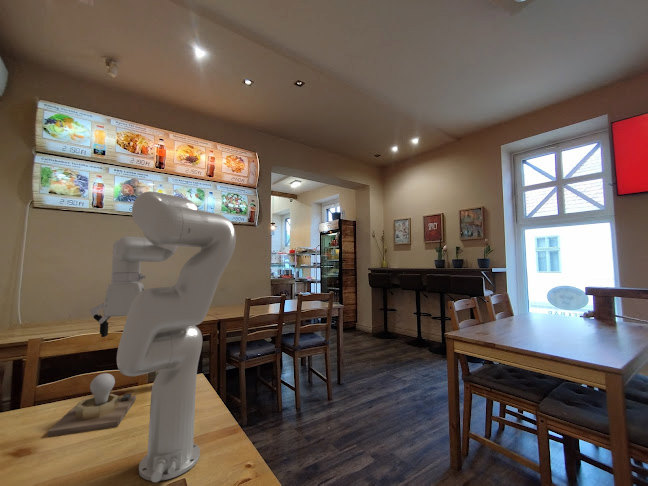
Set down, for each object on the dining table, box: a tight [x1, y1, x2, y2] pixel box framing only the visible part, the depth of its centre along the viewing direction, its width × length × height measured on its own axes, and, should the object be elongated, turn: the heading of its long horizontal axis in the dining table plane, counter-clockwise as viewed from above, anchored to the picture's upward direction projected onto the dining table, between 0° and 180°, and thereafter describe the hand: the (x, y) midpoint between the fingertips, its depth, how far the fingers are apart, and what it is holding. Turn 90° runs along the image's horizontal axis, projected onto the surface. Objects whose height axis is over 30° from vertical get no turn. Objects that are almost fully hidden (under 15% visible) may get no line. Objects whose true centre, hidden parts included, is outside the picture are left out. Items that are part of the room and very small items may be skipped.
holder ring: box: [75, 393, 120, 420], centre depth 89 cm, size 10×10×3 cm
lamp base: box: [47, 392, 137, 438], centre depth 88 cm, size 18×16×3 cm
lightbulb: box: [89, 372, 116, 406], centre depth 89 cm, size 6×6×11 cm
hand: (123, 334), depth 89 cm, fingers open, 9 cm apart
